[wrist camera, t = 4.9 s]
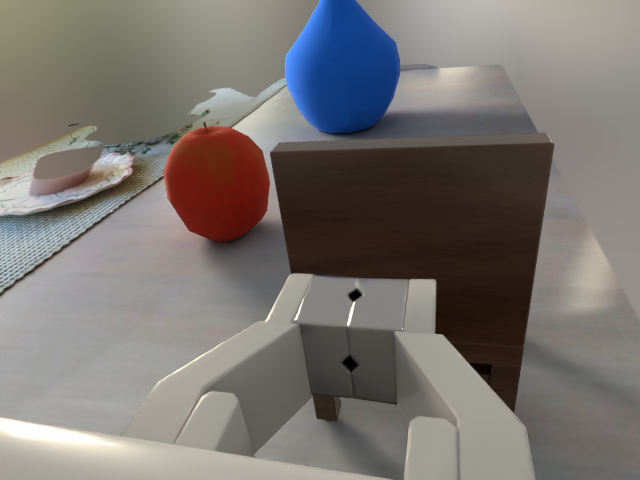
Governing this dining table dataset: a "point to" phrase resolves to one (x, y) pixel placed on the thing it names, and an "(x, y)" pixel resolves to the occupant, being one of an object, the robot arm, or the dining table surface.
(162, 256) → the dining table surface
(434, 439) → the robot arm
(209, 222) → the apple
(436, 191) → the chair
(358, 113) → the vase
